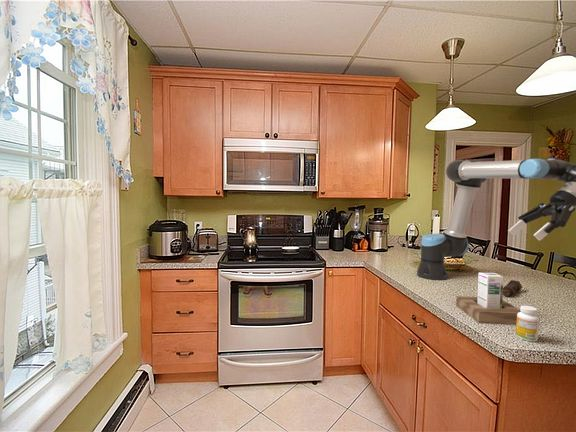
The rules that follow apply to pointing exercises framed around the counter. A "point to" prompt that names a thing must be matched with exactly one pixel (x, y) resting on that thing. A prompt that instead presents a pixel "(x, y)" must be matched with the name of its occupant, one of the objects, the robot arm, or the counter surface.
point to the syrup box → (490, 290)
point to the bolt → (512, 288)
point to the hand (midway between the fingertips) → (522, 235)
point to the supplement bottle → (527, 324)
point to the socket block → (488, 311)
